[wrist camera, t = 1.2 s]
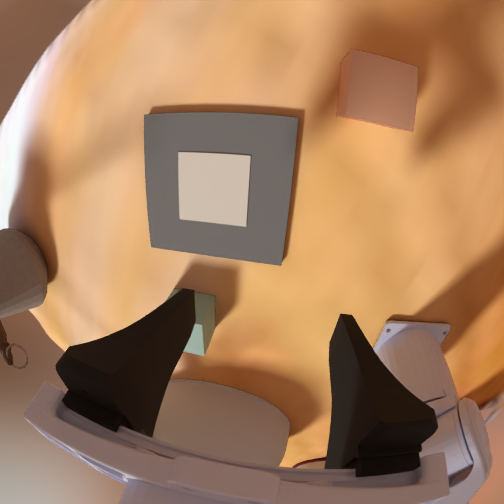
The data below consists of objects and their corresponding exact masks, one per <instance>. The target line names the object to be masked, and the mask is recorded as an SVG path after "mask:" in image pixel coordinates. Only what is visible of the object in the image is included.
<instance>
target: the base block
mask: <svg viewBox="0 0 504 504" xmlns="http://www.w3.org/2000/svg"><path fill="white" fill-rule="evenodd" d="M179 291H180V290H179V289H173V291H172V292H171V294H170V296H169V297H168V299H170V298H171V297H172V296H173V295H175V294H176V293H177V292H179ZM194 293H195V292H194ZM168 299H167V300H168ZM167 300H166V301H167ZM195 312H196V322H195V325H194V328H193V331H192V334H191V337H190V339H189V341H188V343H187V345H186V347H185V349H184V351H183V352H188V353H192V354H196V355H201V356H205V354H206V351H207V348H208V346H209V343H210V341H211V338H212V335H213V333H214V330H215V327H216V326H215V296H212V295H207V294H201V293H195Z"/></svg>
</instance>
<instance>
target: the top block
mask: <svg viewBox="0 0 504 504" xmlns="http://www.w3.org/2000/svg"><path fill="white" fill-rule="evenodd" d="M418 72H419V67H416V66H413V65H410V64H407V63H404V62H401V61H397V60H394V59H391V58H387V57H384V56H380V55H376V54H372V53H368V52H364V51H359V50H355V49H351V50H350V51H349V52H348V53H347V55H346V56H345V57H344V58H343V60H342V61H341V66H340V81H339V93H338V104H337V115H336V116H338V117H343V118H349V119H354V120H359V121H364V122H368V123H373V124H377V125H381V126H385V127H389V128H394V129H400V130H405V131H411V132H413V130H414V122H415V113H416V103H417V90H418Z"/></svg>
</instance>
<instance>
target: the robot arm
mask: <svg viewBox="0 0 504 504" xmlns="http://www.w3.org/2000/svg"><path fill="white" fill-rule="evenodd" d="M195 322H196V312H195V293H194V290H189V289H184V288H183V289H181V290H180V291H179V292H177V293H176V294H175V295H173V296H172V297H171V298H170V299H168V300H167V301H166V302H164V303H163V304H162V305H160V306H159V307H158V308H156V309H155V310H154V311H152V312H151V313H149V314H148V315H146V316H145V317H143V318H142V319H140V320H138V321H137V322H135V323H133V324H132V325H130V326H128V327H126V328H124V329H122V330H120V331H117V332H115V333H113V334H110V335H108V336H106V337H103V338H100V339H97V340H94V341H91V342H87V343H83V344H79V345H74V346H70V347H69V348H68V349H67V350H66V352H65V353H64V354H63V356H62V357H61V358H60V360H59V361H58V362H57V364H56V370H57V372H58V374H59V376H60V378H61V379H62V381H63V382H64V384H65V385H66V386H67V388H68V389H69V390H68V391H67V393H66V394H65V393H64V392H63V391H62V390H60V389H59V388H57V387H56V386H54V385H52V384H51V383H49V382H47V381H45V382H44V384H43V385H42V386H41V388H40V389H39V391H38V392H37V394H36V395H35V397H34V398H33V400H32V401H31V403H30V404H29V406H28V407H27V409H26V410H25V412H24V413H23V417H25V419H26V420H27V421H29V423H30V424H32V425H33V426H34V427H35V428H36V429H37V430H38V431H39V432H40V433H42V435H43V436H45V437H46V438H47V439H48V440H50V441H51V442H53V443H54V444H56V445H57V446H59V447H60V448H62V449H63V450H65V451H66V452H68V453H69V454H71V455H73V456H74V457H76V458H77V459H79V460H81V461H82V462H84V463H86V464H87V465H89V466H91V467H93V468H94V469H96V470H98V471H100V472H102V473H103V474H106V475H107V476H109V477H111V478H113V479H115V480H117V481H119V482H121V483H123V484H126V487H125V489H124V492H123V494H122V497H121V499H120V502H119V504H469V501H470V500H471V499H472V497H473V496H474V495H475V494H476V493H477V491H478V490H479V489H480V488H481V486H482V485H483V484H484V482H485V481H486V480H487V478H488V476H489V474H490V470H491V467H492V455H491V452H490V444H489V438H488V433H487V430H486V426H485V423H484V420H483V417H482V415H481V412H480V410H479V408H478V406H477V404H476V403H475V401H474V400H473V399H468V398H467V397H464V398H463V399H462V400H460V399H459V396H458V393H457V390H456V387H455V384H454V381H453V378H452V375H451V373H450V370H449V367H448V365H447V362H446V359H445V357H444V354H443V352H442V349H441V347H440V345H441V343H442V342H443V340H444V339H445V337H446V335H447V334H448V332H449V330H450V328H451V327H450V325H449V324H444V323H424V322H408V321H394V320H390V321H387V322H386V323H385V325H384V327H383V329H382V332H381V334H380V336H379V338H378V340H377V342H376V344H375V346H374V348H372V347H371V345H370V344H369V342H368V340H367V339H366V337H365V336H364V334H363V332H362V331H361V329H360V327H359V326H358V324H357V322H356V320H355V319H354V317H353V316H352V315H348V314H340V316H339V319H338V322H337V324H336V327H335V330H334V332H333V335H332V338H331V340H330V346H329V367H330V380H331V393H332V412H331V425H330V435H329V443H328V450H327V456H326V461H325V467H324V469H304V468H289V467H279V466H270V465H262V464H255V463H248V462H242V461H237V460H231V459H226V458H222V457H217V456H213V455H208V454H204V453H200V452H196V451H193V450H189V449H185V448H182V447H179V446H175V445H172V444H169V443H166V442H163V441H160V440H157V439H154V438H152V437H153V433H154V429H155V425H156V421H157V417H158V414H159V411H160V407H161V404H162V401H163V398H164V395H165V392H166V389H167V386H168V383H169V380H170V378H171V375H172V373H173V371H174V369H175V367H176V365H177V363H178V361H179V359H180V357H181V355H182V353H183V351H184V349H185V347H186V345H187V343H188V341H189V339H190V337H191V334H192V331H193V328H194V325H195ZM387 329H388V330H387Z"/></svg>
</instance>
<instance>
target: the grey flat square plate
mask: <svg viewBox="0 0 504 504" xmlns="http://www.w3.org/2000/svg"><path fill="white" fill-rule="evenodd" d="M297 129H298V118H296V117H287V116H277V115H265V114H250V113H227V112H184V113H161V114H147V115H144V153H145V179H146V196H147V210H148V221H149V231H150V241H151V247H154V248H161V249H167V250H174V251H181V252H188V253H195V254H202V255H208V256H215V257H222V258H229V259H237V260H244V261H251V262H258V263H265V264H272V265H280V266H281V265H282V258H283V250H284V243H285V235H286V227H287V219H288V211H289V203H290V195H291V186H292V177H293V168H294V159H295V149H296V139H297Z"/></svg>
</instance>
